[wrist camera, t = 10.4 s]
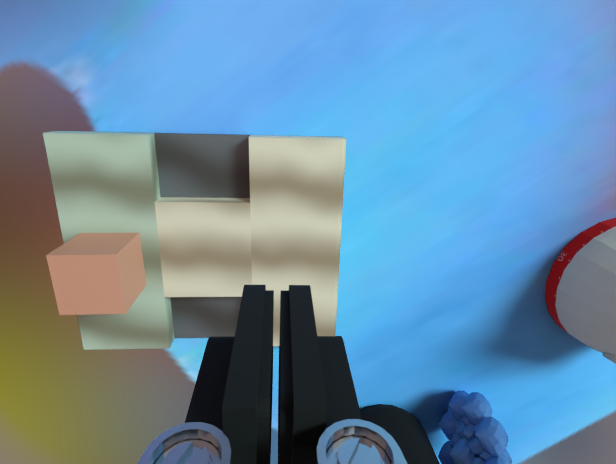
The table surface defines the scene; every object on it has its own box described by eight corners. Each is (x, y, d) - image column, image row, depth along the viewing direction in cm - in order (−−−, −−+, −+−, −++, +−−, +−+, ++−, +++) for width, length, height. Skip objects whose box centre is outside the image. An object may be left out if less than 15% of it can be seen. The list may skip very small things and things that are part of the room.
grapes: (467, 454, 47) (526, 566, 36) (414, 449, 46) (458, 562, 35) (500, 375, 44) (576, 472, 32) (443, 368, 43) (502, 465, 31)
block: (79, 233, 33) (45, 255, 28) (139, 232, 33) (116, 254, 29) (89, 285, 35) (59, 315, 30) (146, 284, 35) (125, 313, 30)
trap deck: (56, 131, 32) (42, 132, 30) (342, 136, 34) (346, 139, 32) (93, 337, 39) (83, 349, 37) (332, 333, 40) (334, 345, 39)
